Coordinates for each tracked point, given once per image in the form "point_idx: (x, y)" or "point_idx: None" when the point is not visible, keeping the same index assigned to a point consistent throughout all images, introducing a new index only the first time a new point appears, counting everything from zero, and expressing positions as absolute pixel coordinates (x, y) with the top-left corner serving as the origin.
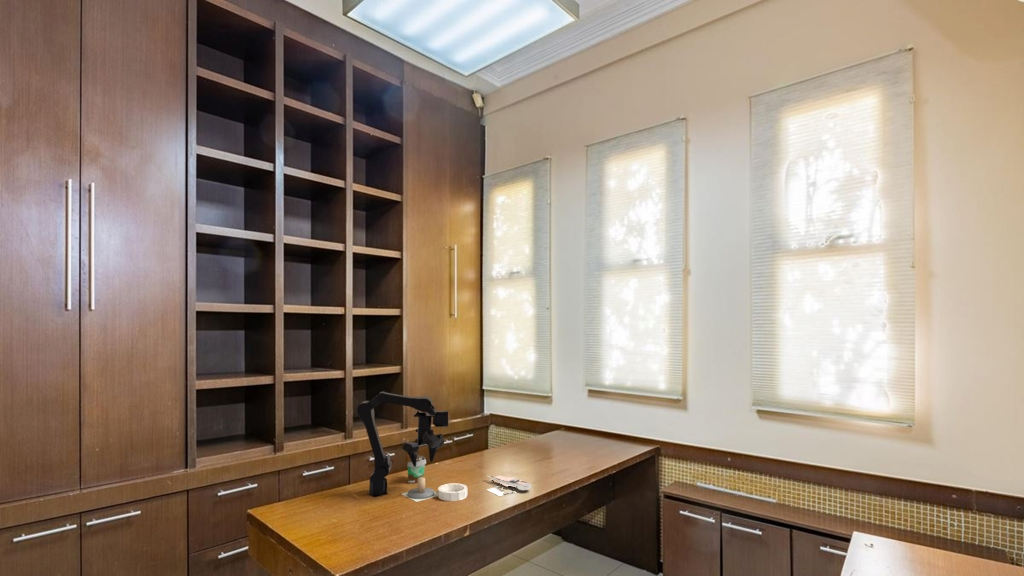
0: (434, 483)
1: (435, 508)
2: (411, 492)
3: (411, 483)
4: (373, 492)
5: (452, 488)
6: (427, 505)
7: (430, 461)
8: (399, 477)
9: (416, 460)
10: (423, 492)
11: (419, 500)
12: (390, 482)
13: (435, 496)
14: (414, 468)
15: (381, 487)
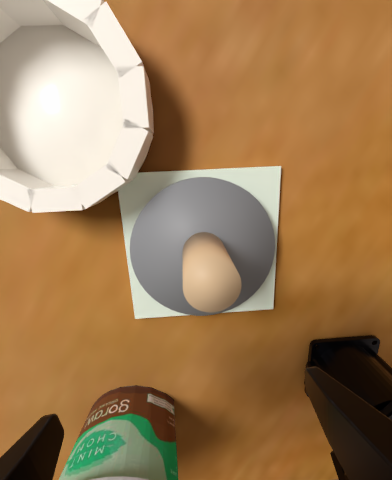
0: (62, 350)
1: (251, 2)
2: (246, 275)
3: (161, 395)
4: (384, 362)
5: (21, 175)
6: (258, 87)
7: (61, 434)
8: None
9: (368, 434)
10: (201, 233)
11: (259, 172)
12: (220, 448)
13: (156, 172)
14: (143, 470)
15: (367, 369)
